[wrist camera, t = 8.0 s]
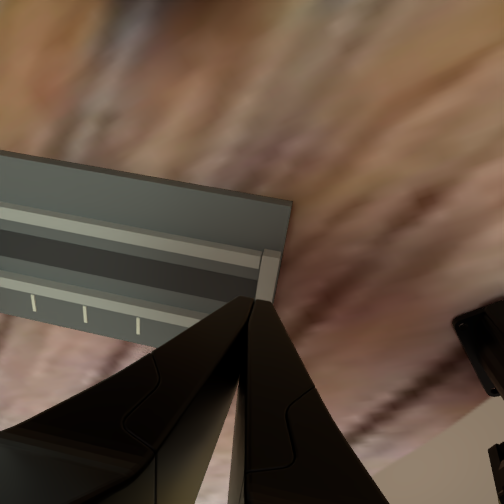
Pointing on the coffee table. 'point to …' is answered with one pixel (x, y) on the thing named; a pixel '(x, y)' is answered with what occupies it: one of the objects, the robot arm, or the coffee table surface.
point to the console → (129, 248)
